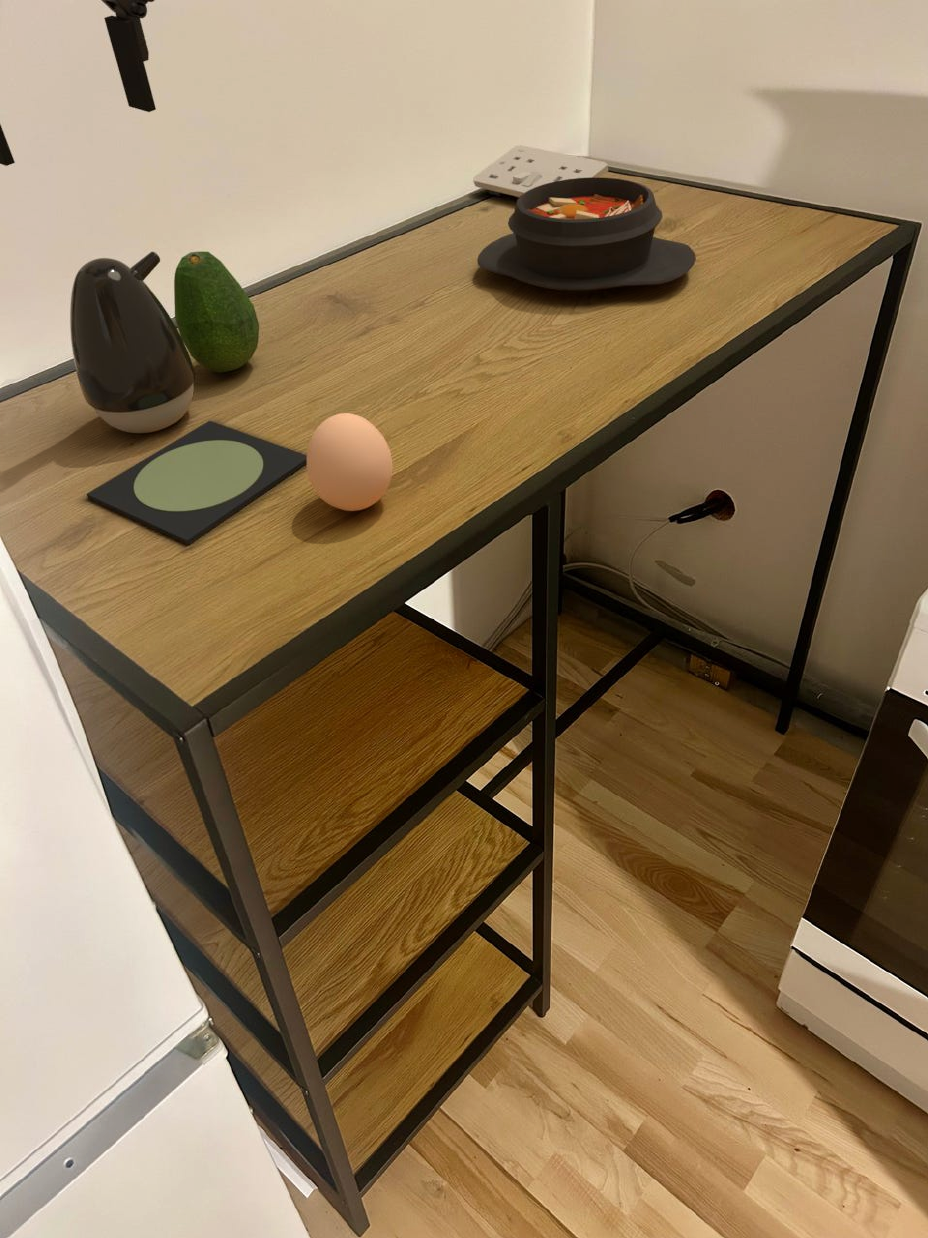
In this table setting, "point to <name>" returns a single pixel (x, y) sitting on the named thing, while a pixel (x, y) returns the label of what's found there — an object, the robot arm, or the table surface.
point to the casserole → (587, 238)
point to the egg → (349, 462)
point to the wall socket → (534, 170)
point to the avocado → (213, 313)
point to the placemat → (198, 481)
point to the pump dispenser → (128, 347)
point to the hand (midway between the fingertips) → (75, 133)
